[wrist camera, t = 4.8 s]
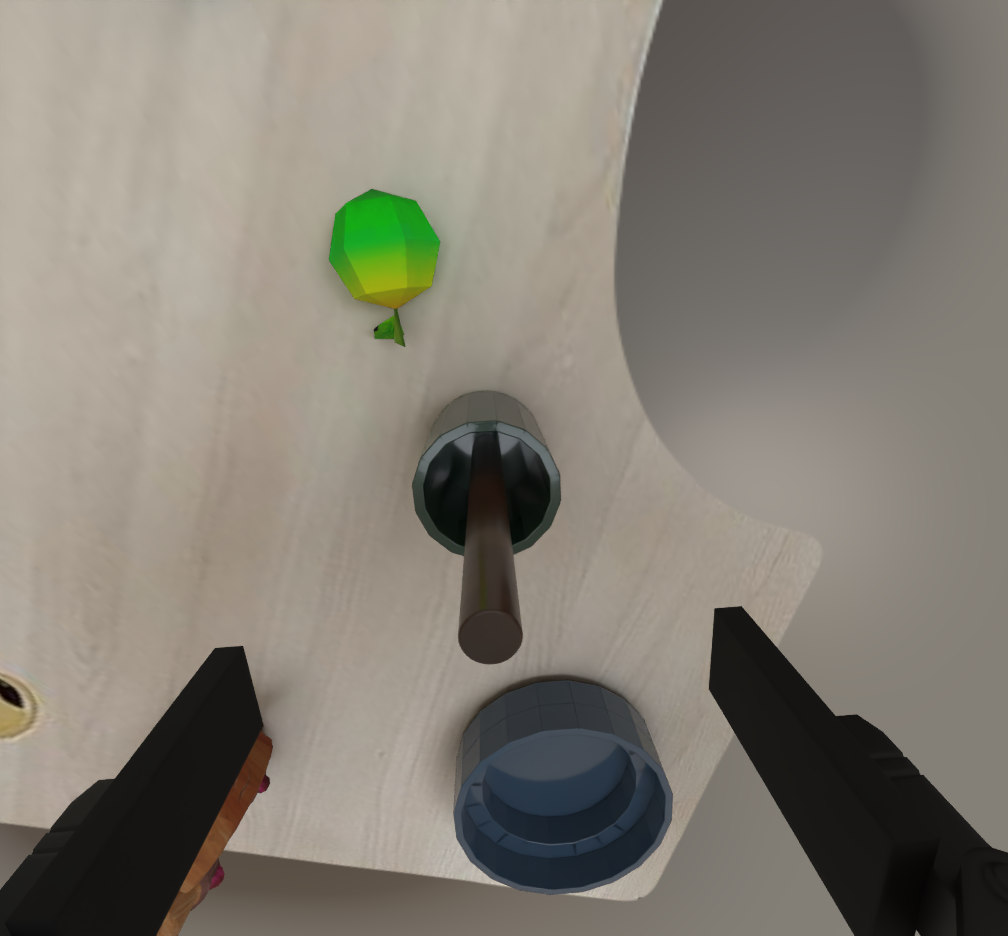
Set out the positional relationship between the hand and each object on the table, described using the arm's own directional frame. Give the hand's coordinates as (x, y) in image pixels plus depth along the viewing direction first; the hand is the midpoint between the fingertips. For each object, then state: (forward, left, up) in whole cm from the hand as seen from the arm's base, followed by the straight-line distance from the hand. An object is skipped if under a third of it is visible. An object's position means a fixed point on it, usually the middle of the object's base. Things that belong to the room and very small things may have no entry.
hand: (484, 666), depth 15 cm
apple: (+5, -12, -24) cm, 28 cm away
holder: (0, 0, -24) cm, 24 cm away
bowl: (-4, +29, -24) cm, 38 cm away
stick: (0, 0, -23) cm, 23 cm away
